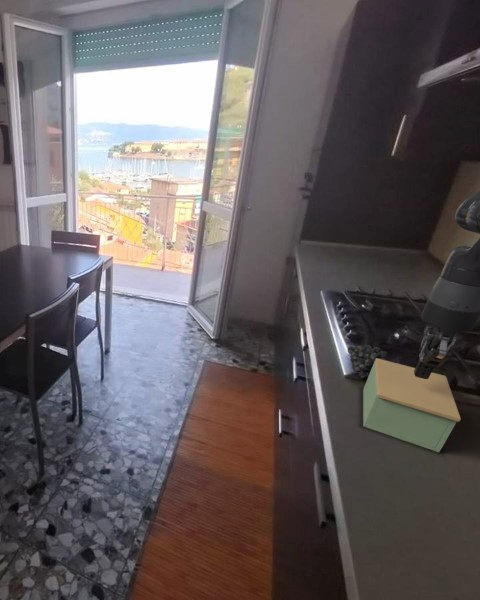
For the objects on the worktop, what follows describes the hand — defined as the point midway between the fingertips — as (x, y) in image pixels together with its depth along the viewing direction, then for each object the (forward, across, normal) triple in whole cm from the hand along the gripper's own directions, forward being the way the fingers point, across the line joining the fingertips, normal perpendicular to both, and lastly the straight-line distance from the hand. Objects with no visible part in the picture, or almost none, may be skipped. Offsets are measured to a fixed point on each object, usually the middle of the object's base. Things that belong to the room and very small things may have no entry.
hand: (420, 376), depth 75 cm
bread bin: (+13, +2, 0) cm, 13 cm away
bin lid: (+4, +2, 0) cm, 4 cm away
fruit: (+13, +20, +6) cm, 25 cm away
